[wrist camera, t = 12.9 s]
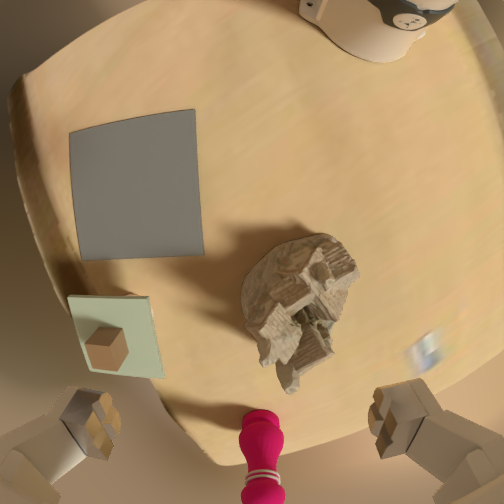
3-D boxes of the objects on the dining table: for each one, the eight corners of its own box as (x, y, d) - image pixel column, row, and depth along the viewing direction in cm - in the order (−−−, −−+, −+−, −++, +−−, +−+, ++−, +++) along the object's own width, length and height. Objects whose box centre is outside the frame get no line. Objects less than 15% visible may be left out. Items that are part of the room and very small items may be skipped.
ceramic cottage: (271, 366, 41) (285, 438, 27) (221, 269, 38) (211, 317, 23) (367, 321, 41) (417, 375, 26) (331, 218, 37) (384, 236, 23)
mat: (71, 133, 32) (69, 133, 32) (195, 109, 32) (194, 109, 32) (83, 259, 37) (82, 260, 37) (204, 254, 37) (203, 255, 37)
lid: (70, 294, 31) (49, 310, 26) (148, 296, 31) (133, 315, 26) (92, 367, 34) (77, 388, 29) (165, 375, 34) (155, 399, 29)
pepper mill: (231, 421, 45) (223, 520, 25) (259, 401, 43) (262, 507, 24) (261, 438, 46) (264, 530, 27) (290, 419, 45) (303, 517, 25)
